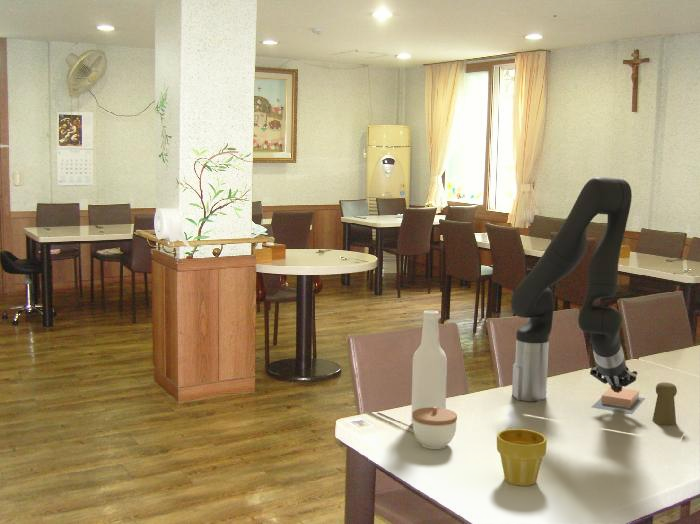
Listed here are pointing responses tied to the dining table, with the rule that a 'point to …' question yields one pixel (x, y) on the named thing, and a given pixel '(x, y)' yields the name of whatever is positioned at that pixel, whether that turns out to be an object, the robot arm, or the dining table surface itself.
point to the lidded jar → (434, 426)
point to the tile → (620, 397)
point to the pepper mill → (665, 404)
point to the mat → (618, 408)
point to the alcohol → (429, 367)
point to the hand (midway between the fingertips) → (617, 389)
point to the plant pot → (521, 455)
